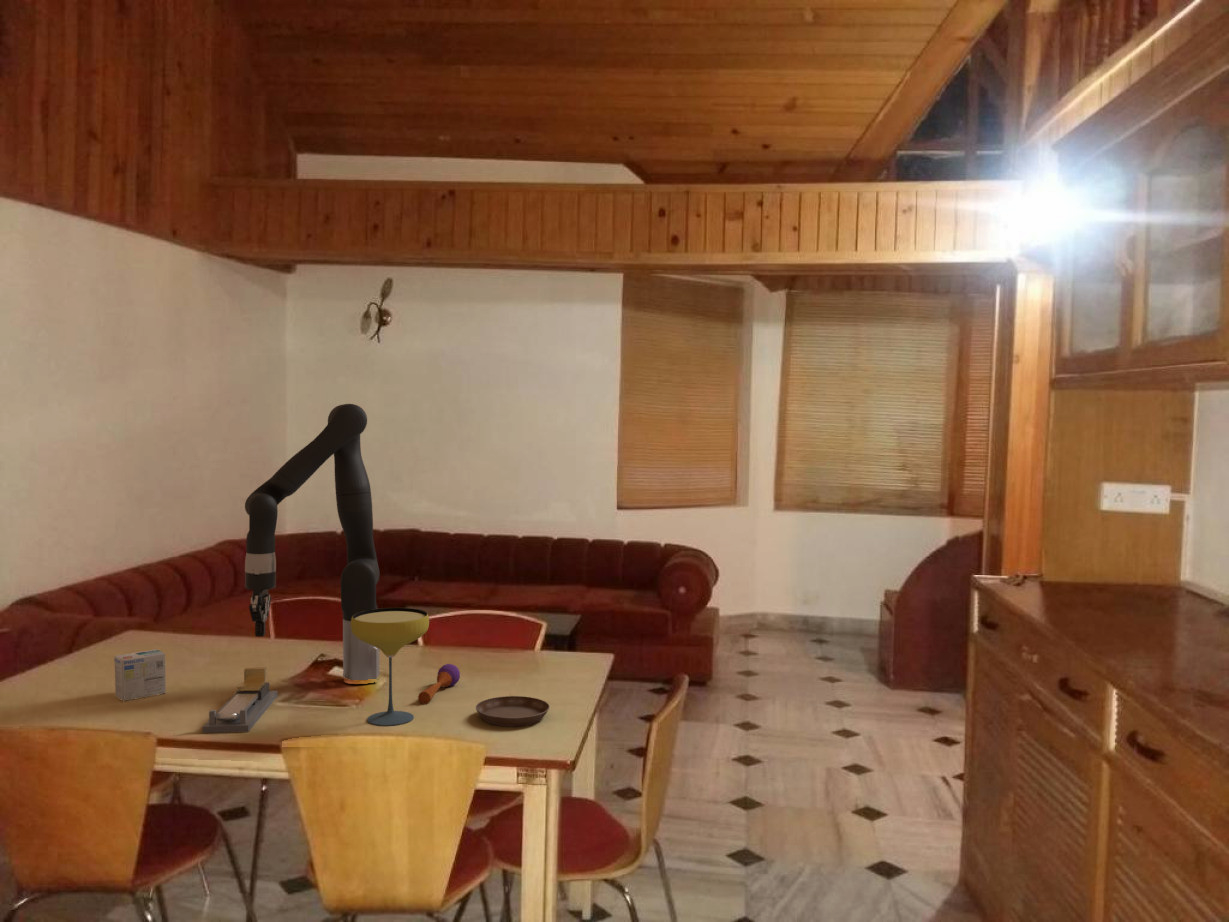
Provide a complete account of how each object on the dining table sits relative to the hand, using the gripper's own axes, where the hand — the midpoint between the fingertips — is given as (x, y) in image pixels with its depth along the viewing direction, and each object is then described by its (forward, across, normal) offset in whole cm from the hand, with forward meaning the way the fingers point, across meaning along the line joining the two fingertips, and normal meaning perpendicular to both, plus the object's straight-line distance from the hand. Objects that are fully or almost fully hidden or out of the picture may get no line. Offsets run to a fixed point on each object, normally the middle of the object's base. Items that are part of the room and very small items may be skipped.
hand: (260, 636), depth 252 cm
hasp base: (+15, +18, 0) cm, 23 cm away
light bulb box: (+16, 0, -30) cm, 33 cm away
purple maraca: (+15, +3, +46) cm, 49 cm away
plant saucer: (+14, +26, +66) cm, 72 cm away
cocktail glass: (+14, +25, +37) cm, 47 cm away
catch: (+11, +9, 0) cm, 14 cm away
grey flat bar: (+13, +22, 0) cm, 25 cm away
